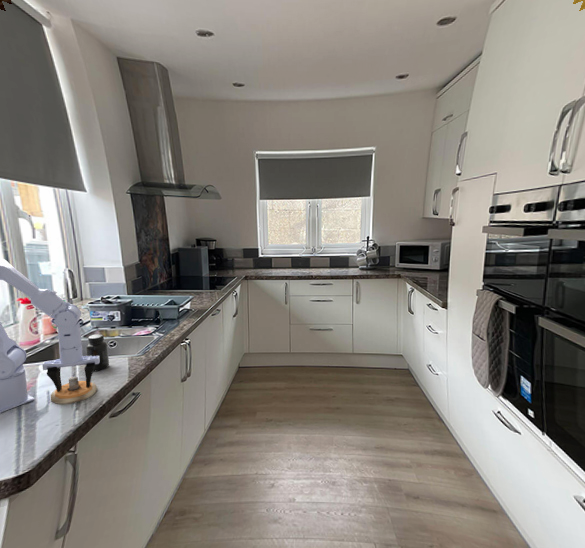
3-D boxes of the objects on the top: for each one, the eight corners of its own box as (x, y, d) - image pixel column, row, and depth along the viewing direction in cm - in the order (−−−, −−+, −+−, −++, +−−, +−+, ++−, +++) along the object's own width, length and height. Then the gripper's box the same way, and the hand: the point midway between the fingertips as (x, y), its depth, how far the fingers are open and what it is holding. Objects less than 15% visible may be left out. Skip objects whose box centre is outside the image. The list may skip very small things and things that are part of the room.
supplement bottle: (104, 362, 130) (102, 331, 128) (112, 367, 125) (110, 335, 124) (84, 368, 124) (81, 336, 123) (92, 373, 120) (89, 340, 118)
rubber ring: (66, 401, 100) (66, 399, 99) (48, 393, 104) (48, 390, 104) (98, 388, 108) (98, 385, 108) (81, 380, 112) (80, 378, 112)
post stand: (64, 408, 98) (63, 391, 97) (42, 397, 104) (41, 381, 103) (105, 390, 108) (104, 375, 108) (82, 381, 114) (81, 367, 113)
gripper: (100, 339, 110) (102, 379, 112) (46, 344, 105) (50, 385, 107) (96, 346, 104) (99, 389, 106) (38, 352, 98) (42, 396, 101)
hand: (74, 388), depth 106 cm, fingers open, 7 cm apart
